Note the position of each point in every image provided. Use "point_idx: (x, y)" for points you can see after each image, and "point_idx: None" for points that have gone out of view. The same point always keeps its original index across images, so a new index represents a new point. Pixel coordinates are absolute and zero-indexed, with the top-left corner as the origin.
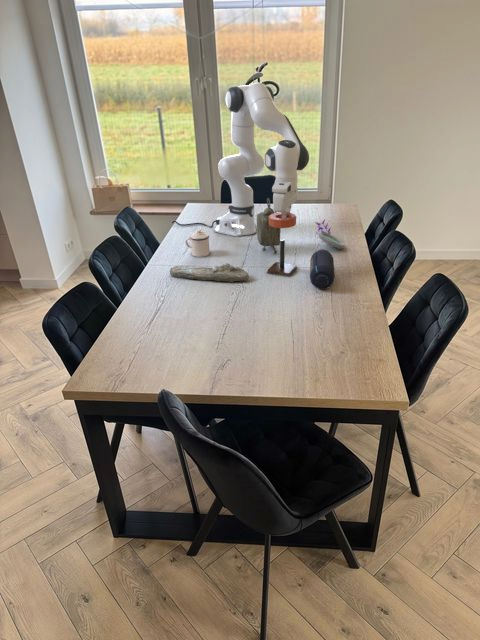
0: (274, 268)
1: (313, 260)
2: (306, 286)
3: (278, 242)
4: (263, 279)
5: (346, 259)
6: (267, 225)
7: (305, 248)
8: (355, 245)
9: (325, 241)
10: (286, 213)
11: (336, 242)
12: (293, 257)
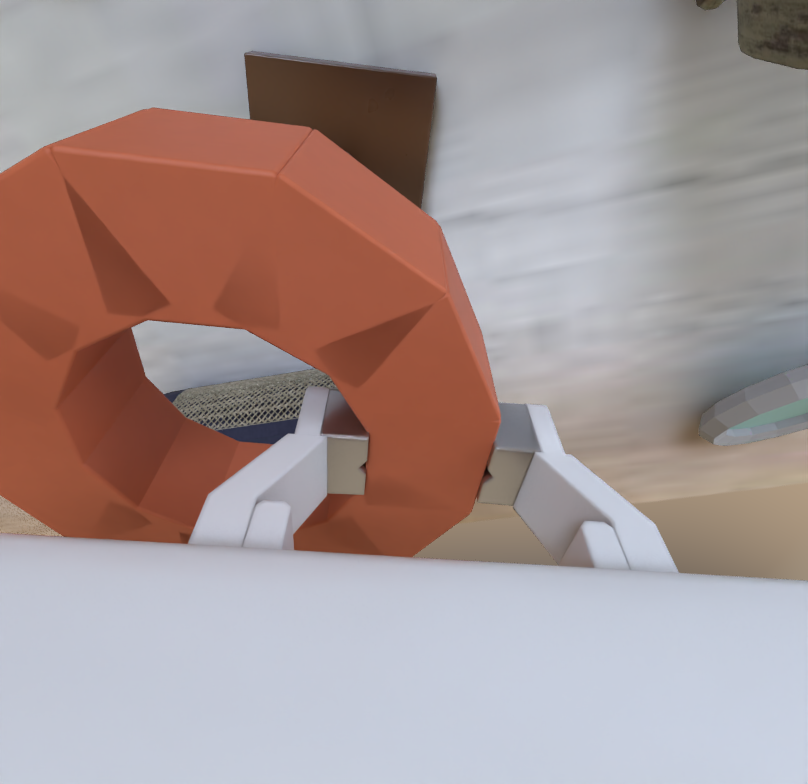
0: (298, 110)
1: (273, 430)
2: (189, 350)
3: (741, 33)
4: (126, 54)
5: (581, 453)
6: None
7: (795, 230)
8: (778, 465)
9: (736, 396)
10: (420, 474)
11: (793, 413)
12: (610, 183)
